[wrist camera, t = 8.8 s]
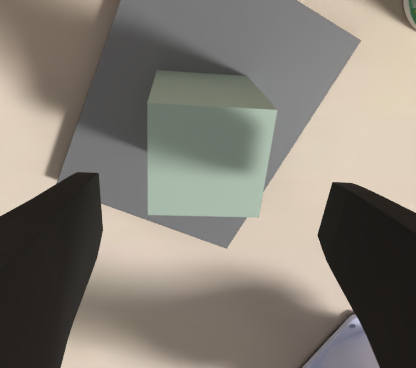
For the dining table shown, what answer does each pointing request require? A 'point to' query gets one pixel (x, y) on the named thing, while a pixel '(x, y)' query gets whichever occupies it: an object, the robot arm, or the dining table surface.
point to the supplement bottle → (410, 11)
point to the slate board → (200, 63)
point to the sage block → (207, 144)
